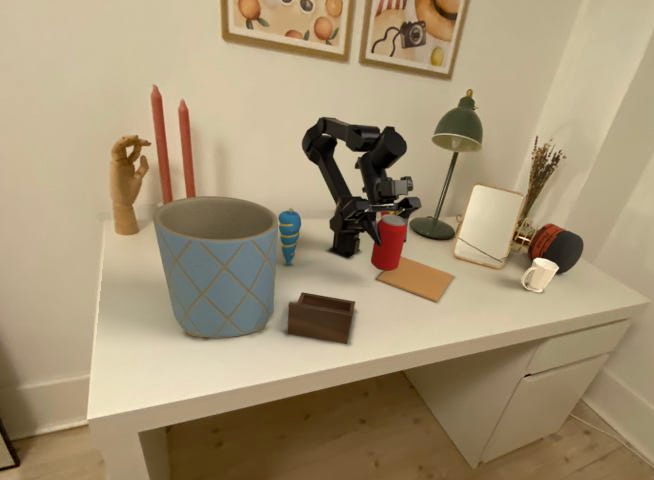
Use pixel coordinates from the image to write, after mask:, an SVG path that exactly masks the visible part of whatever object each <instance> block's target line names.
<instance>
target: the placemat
mask: <svg viewBox="0 0 654 480" xmlns="http://www.w3.org/2000/svg"><path fill="white" fill-rule="evenodd" d="M453 277H454V274H451V273H449V272H446V271H443V270H440V269H438V268H434V267H432V266H429V265H426V264H424V263H420V262H418V261H415V260H412V259H409V258H407V257H405V256H401V257H400V261H399V265H398V267H397V268H396V269H395V270H391V271H382V273H381V274H380V275H379V276H378V277H377V280H378V281H380V282H382V283H386V284H388V285H391V286H393V287H396V288H398V289H401V290H403V291H406V292H409V293H411V294H414V295H417V296H420V297H421V298H424V299H427V300H429V301H432V302H435V303H437V301H438V300H439V299H440V297H441V295H442V294H443V292H444V291H445V289H446V288H447V287H448V285H449V283H450V282H451V280H452V279H453Z"/></svg>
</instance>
